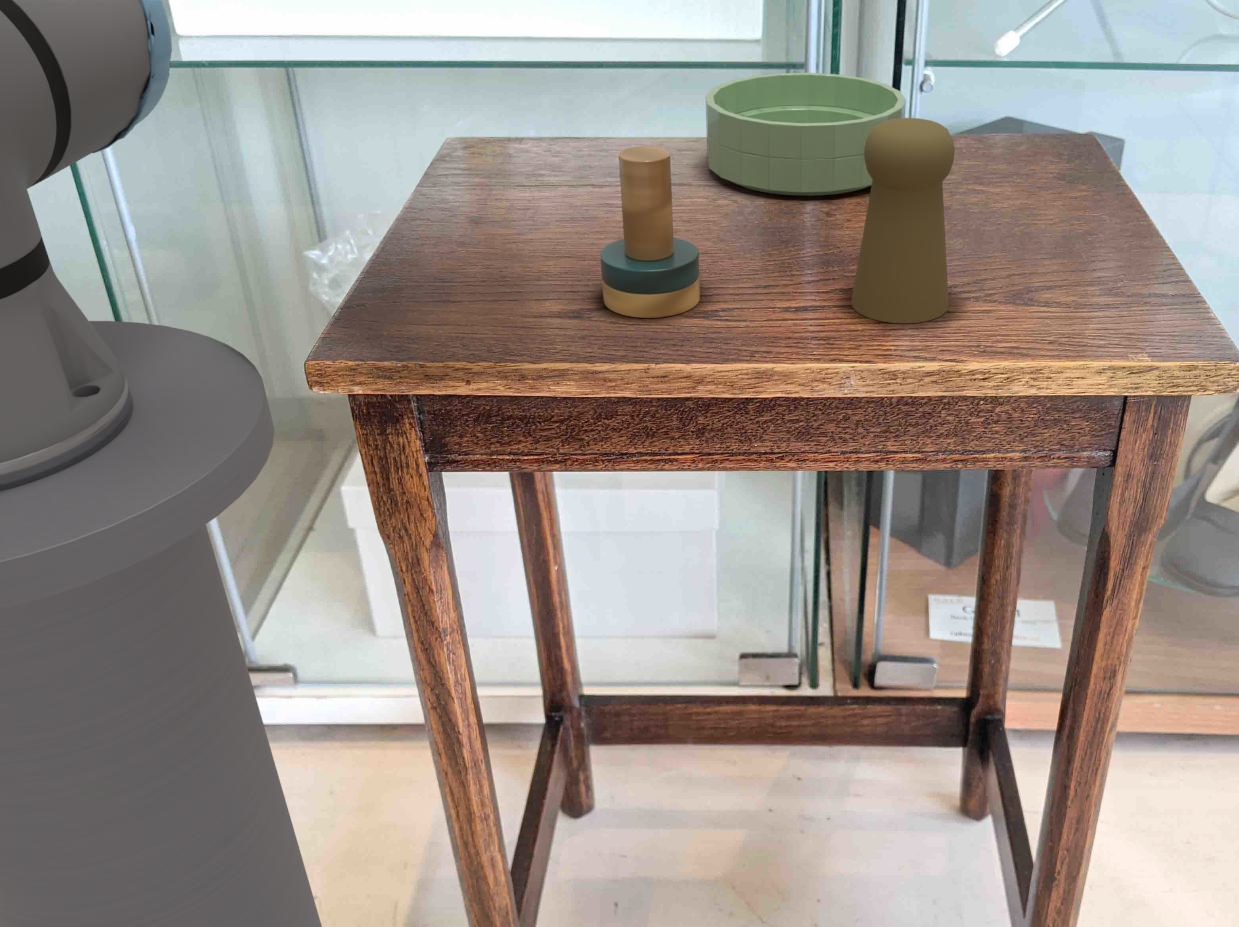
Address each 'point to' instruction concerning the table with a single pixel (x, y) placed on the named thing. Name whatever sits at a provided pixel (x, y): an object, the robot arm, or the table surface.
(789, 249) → the table surface
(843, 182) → the bowl
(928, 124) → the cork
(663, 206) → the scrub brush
